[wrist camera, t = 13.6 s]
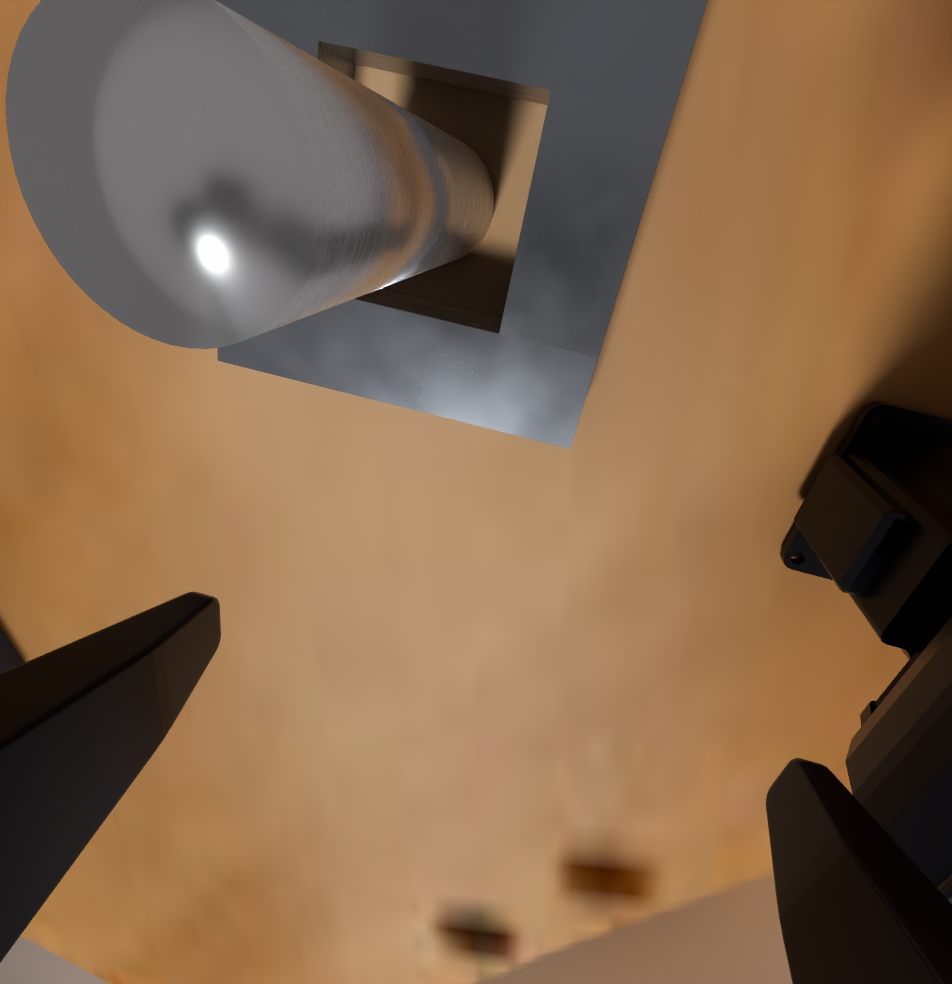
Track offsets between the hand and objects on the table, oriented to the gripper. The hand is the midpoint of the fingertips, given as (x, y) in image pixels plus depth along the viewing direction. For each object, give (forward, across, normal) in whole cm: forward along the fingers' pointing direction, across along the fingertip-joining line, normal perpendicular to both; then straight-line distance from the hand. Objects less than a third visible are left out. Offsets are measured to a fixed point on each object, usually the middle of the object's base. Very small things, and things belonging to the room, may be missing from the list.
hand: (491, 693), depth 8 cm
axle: (+13, +5, -6) cm, 15 cm away
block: (+13, +5, -6) cm, 15 cm away
